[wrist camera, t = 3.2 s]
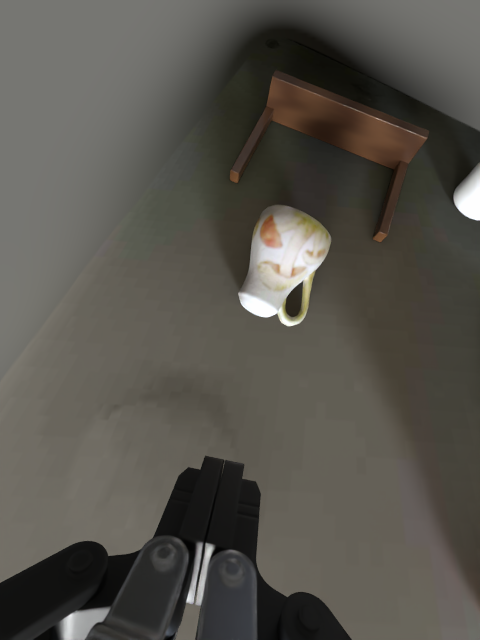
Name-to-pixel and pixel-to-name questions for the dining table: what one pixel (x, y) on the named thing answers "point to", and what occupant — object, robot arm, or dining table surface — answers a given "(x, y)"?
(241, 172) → the walnut rack
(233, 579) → the robot arm
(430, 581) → the dining table surface
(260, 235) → the mug
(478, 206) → the drinking glass
